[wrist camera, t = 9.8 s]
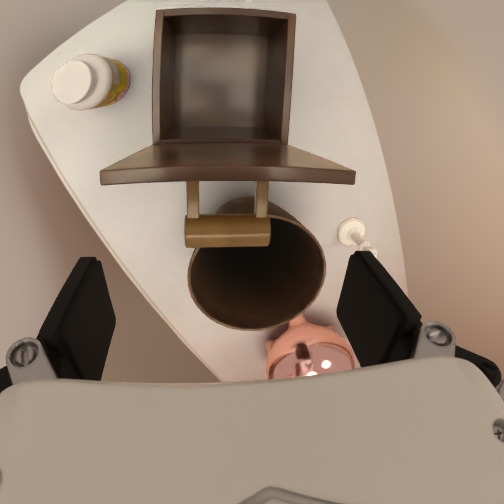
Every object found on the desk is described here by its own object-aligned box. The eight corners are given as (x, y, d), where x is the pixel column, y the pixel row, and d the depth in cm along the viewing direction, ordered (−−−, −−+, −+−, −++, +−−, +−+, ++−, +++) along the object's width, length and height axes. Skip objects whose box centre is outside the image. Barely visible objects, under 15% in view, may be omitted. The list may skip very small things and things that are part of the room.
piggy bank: (311, 369, 67) (330, 426, 53) (245, 349, 60) (256, 415, 47) (356, 325, 62) (386, 382, 48) (291, 296, 55) (316, 363, 41)
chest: (170, 31, 31) (155, 10, 21) (273, 33, 33) (296, 13, 23) (168, 132, 39) (152, 148, 28) (267, 132, 40) (287, 148, 30)
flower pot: (201, 267, 50) (200, 338, 36) (186, 178, 42) (174, 225, 28) (292, 255, 51) (322, 320, 37) (290, 167, 43) (329, 207, 30)
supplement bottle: (91, 111, 35) (49, 123, 24) (83, 69, 32) (38, 66, 21) (135, 97, 35) (105, 101, 24) (127, 53, 32) (94, 41, 21)
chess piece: (363, 215, 49) (393, 243, 40) (363, 240, 51) (390, 272, 43) (336, 220, 49) (362, 251, 40) (337, 247, 51) (361, 280, 42)
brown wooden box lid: (99, 170, 14) (110, 264, 16) (356, 171, 16) (344, 259, 18) (151, 144, 28) (153, 196, 30) (288, 145, 30) (285, 195, 32)
